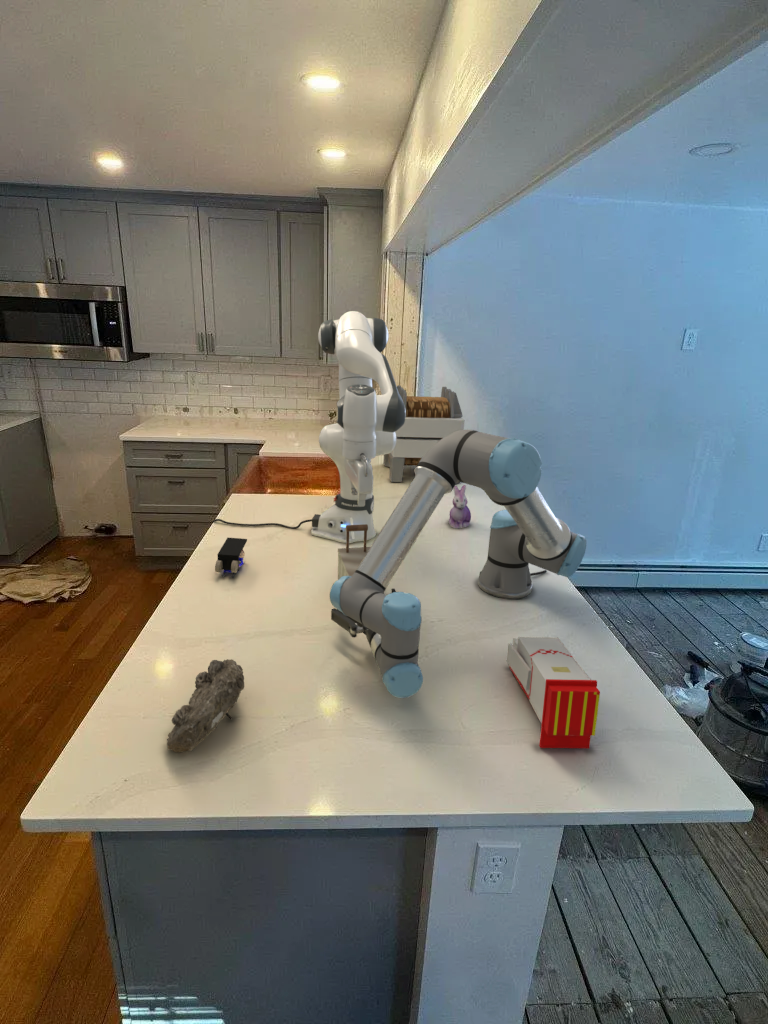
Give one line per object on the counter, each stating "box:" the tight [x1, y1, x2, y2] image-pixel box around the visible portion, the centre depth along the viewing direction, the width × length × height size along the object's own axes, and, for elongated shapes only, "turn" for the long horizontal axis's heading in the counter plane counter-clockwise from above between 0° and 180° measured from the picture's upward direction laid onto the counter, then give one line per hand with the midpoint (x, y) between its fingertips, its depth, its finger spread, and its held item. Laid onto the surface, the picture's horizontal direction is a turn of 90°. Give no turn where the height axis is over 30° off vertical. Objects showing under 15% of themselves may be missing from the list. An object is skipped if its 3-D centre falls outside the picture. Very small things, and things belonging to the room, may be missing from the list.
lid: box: [337, 524, 371, 577], centre depth 150 cm, size 18×9×9 cm, turn 13°
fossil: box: [166, 658, 245, 754], centre depth 106 cm, size 22×10×15 cm
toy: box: [505, 636, 601, 749], centre depth 115 cm, size 12×13×30 cm
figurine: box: [448, 484, 472, 529], centre depth 208 cm, size 9×10×15 cm
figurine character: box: [214, 537, 248, 578], centre depth 166 cm, size 7×8×15 cm
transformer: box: [383, 384, 465, 483], centre depth 268 cm, size 34×33×41 cm
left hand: (357, 499), depth 152 cm, fingers open, 8 cm apart
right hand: (366, 595), depth 142 cm, fingers open, 13 cm apart
